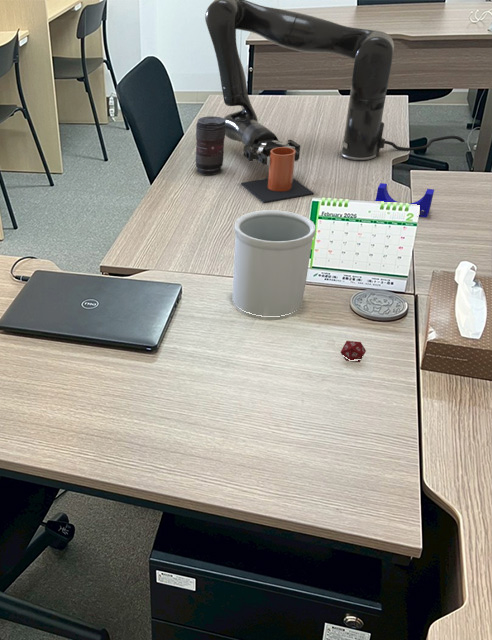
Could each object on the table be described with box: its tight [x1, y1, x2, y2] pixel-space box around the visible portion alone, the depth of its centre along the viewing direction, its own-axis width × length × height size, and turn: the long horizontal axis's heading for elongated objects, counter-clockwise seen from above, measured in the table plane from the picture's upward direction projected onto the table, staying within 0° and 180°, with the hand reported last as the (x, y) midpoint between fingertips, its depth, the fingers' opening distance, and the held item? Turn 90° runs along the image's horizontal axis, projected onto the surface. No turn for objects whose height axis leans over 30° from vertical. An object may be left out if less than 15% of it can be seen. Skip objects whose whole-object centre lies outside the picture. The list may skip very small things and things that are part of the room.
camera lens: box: [195, 115, 226, 176], centre depth 202 cm, size 8×8×15 cm
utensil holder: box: [232, 209, 317, 321], centre depth 140 cm, size 15×15×18 cm
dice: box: [340, 340, 367, 363], centre depth 125 cm, size 4×4×4 cm
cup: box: [267, 147, 296, 192], centre depth 188 cm, size 6×6×10 cm
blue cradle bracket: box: [374, 182, 435, 219], centre depth 171 cm, size 12×4×6 cm, turn 58°
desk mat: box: [240, 177, 315, 204], centre depth 191 cm, size 14×14×1 cm
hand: (281, 159), depth 187 cm, fingers open, 8 cm apart
